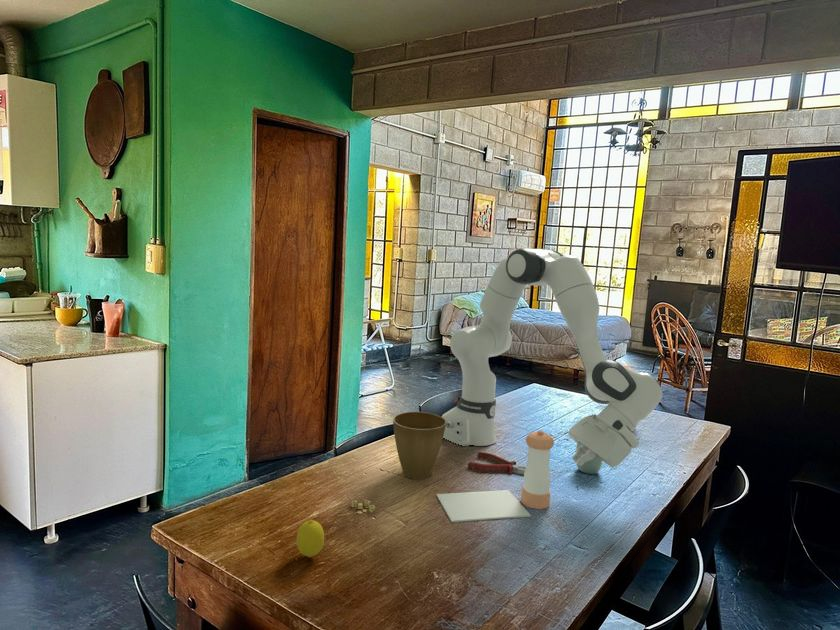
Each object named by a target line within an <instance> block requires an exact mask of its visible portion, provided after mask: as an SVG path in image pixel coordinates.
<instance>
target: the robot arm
mask: <svg viewBox="0 0 840 630" xmlns="http://www.w3.org/2000/svg"><path fill="white" fill-rule="evenodd" d="M527 285H528V286H535V287H540V286H549V287H550V289H551V291H552V294H553V296H554V298H555V299H554V300H555V303H556V304H557V306H558V307H557V308H558V309H559V310H560V313H561V315H562V317H563V319H564V320H565V323H566V325H567V327H568V328H569V331H570V333H571V334H572V336H573V339H574V342H575V345H576V347H577V351H578V353H579V356H580V359H581V361H582V364H583V368H584V375H585V376H584V388H585V389H584V391H585V393H586V395H587V397H588V398H589V399H591V400H592V401H593V402H595V403H597V404H599V405H600V404H601V405H606V406H605V408H603V409H602V410H601V412H599V413H598V414H592V415H587V416H583V418H581V419H580V420H579V421H577V422H576V423H575V424H574V425H573V426H571V427H570V428H569V430H568V432H567V433H568V435H569V437H570V438H571V439H572V440H573V441H574V442H575V443H576V444H577V443H578V444H579V446H578V449H577V451H576V450H575V454H573V456H572V457H571V459H572V460H573V461H574V462H575V464H576V463H577V464H579V465H580V466H582V465H583V464H584V463H585V462H587V461H589V460H592V459H593V458H594V457H595V456H596V457H598V458H599V459H601V460H602V462H603V463H605V464H607V465H608V466H609V467H611V468H615V467H618V466H619V465H620V464H622V462H623V461H624V460H625V459H626V458H627V457H628V456H629V455H630V454H631V452H632V449H635V448H637V447H638V446H639V444H640V443H639V440H638V439H637V438H636V436H635V435H634V433H633V431H634V430H635V429H636V428H637V427H638V424H639V423H640V422H641V421H642V420H644V419H646V418H647V417H648V416H649V415H650V414H651V413H652V412H653V411H654V409H655V408H656V407H657V406H658V405H659V403H660V402H661V400H662V398H663V389H662V386H661V385H660V382H658V380H657V379H656V378H655V377H654V376H653V375H652V374H650V373H648V372H641V371H636V370H635V371H634V369H633V370H631V369H632V368H631V369H629V368H626V367H624V366H625V365H623V364H621V363H619V362H618V361H615V360H611V359H607V360H606V357H605V355H604V351H603V349H602V345H601V342H600V340H599V337H598V336H599V335H598V319H599V313H600V304H599V298H598V294H597V292H596V288H595V287H594V284H593V282H592V279H591V277H590V275H589V273H588V271H587V270H586V267H585V266H584V264H583V263H582V261H580V259H579V258H578V257H577V256H575V255H564V254H563V253H561V252H559V251H556V250H549V249H546V248H528V247H524V248H523V247H521V248H518V249H516V250H513V251H512V252H511V253H510V254H509V255H508V256H507V257H504V258H503V259H501V261H500V262H499V264H498V265H497V267H496V268H495V270H494V271H493V273H492V275H491V277H490V279H489V282H488V284H487V286H486V289H485V291H484V294H483V295H482V298H481V300H480V303H479V309H480V311H481V312H482V318H481V321H480V323H479V324H478V325H471V326H465V327H463V328H460V329H458V330H456V331H455V332H454V333H452V335H451V338H450V341H449V345H450V347H449V348H450V349H451V350H450V351H451V352H452V354H453V356H455V358H456V359H457V360H458V363H459V364H460V368H461V374H462V383H461V384H462V388H461V396H458V397H456V398H454V403H457V404H456V406H454V407H453V408H450V410H448V411H446V412H445V413H443V414H442V416H441V417H442V418H444V419H445V420H446V426H445V431H444V435H443V438H445V439H444V440H446V439H447V441H448V440H449V442H450V441H451V443H453V442H454V443H453V444H455V443H456V445H458V444H459V445H458V446H460V445H462V447H470V446H469V445H474V446H475V447H484V446H490V445H494V444H495V443H497V441H498V439H497V435H496V426H495V416H496V407H497V405H496V403H497V400H496V384H497V377H496V375H495V373H494V372H493V371H491V368H490V364H489V358H492V357H493V358H494V357H498V356H500V355H502V354H505V352H507V351H509V349H510V348H511V347H512V344H513V336H512V333H511V331H510V327H511V323H512V318H513V316H514V313H515V311H516V308H517V306H518V304H519V302H520V299H521V297H522V294H523V293H524V292H523V291H524V290H525V288H526V286H527ZM474 446H473V447H474ZM584 453H585V454H584ZM583 454H584V455H583ZM577 464H576V465H577Z"/></svg>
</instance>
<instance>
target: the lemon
mask: <svg viewBox="0 0 840 630" xmlns="http://www.w3.org/2000/svg"><path fill="white" fill-rule="evenodd" d="M324 543H325V531H324V529H323V526H322V525H321V524H320V523H319V522H318V521H316V520H313V519H309V520H307V521H305V522H303V523H302V524H301V525H300V526H299V529H298V531H297V534H296V546H297V549H298V551H299V552H300V553H301V554H302V555H303V556H306V557H308V558H309V559H310V557H311V558H312V557H314V556H316V555H318V554H320V552H321V550H322V549H323V547H324Z"/></svg>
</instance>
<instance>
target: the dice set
mask: <svg viewBox="0 0 840 630" xmlns="http://www.w3.org/2000/svg"><path fill="white" fill-rule="evenodd" d="M363 503H364V504H363ZM363 506H365V507H369V508H368V509H366V508H365V507H364V508H363ZM351 507H357V508H358V509H363V510H358V509H357V508H356V509H357V510H358V511H357V512H356V514H357V513H359V514H361V513H362V514H363V512H366V511H367V512H369V511H370V512H374V511H375V512H376V505H374V504H371V501H370V500H368V499H367V500H364V501H363V502H358V501H357V500H351V501H350V508H351ZM362 511H363V512H362ZM367 512H366V513H367ZM370 512H369V513H370ZM375 512H374V513H375ZM359 514H358V515H359ZM362 514H361V515H362Z"/></svg>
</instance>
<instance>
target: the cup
mask: <svg viewBox="0 0 840 630" xmlns="http://www.w3.org/2000/svg"><path fill="white" fill-rule="evenodd" d="M578 446H579V444H578V443H577V442H576V447H575V448H576V449H575V452H576V451H577V449H578ZM584 454H585V453H584ZM584 454H583V455H584ZM575 464H576V466H577V469H578V470H579V471H580V472H582V473H584V474H587V475H595V474H597V473H599V472H600V470H601V467H602V466H603V465H602V464H603V461H602V460H601V459H599V458H598V457H596V456H595V457H594V458H593V459H592V460H589V461H587V462H585V463H584V464H583V465H582V466H580V465H579V464H577V463H576V462H575Z"/></svg>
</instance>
